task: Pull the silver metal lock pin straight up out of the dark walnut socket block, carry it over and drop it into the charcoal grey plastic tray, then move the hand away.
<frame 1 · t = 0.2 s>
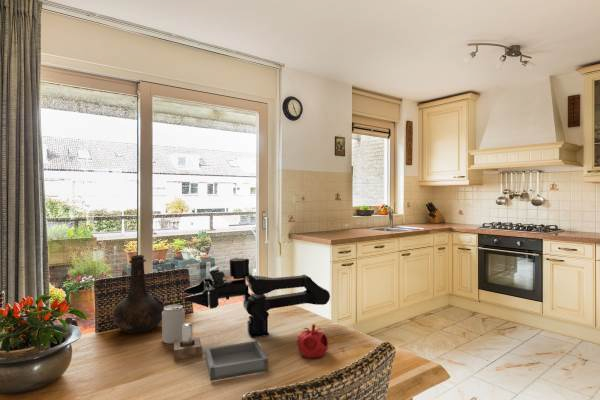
hand: (184, 294, 125), 17 cm above the table, tool horizontal, fingers open, 9 cm apart
brown vase: (139, 329, 140), on the table
lock pin: (187, 352, 117), resting on socket block
can: (173, 341, 128), on the table
pomegranate: (312, 354, 116), on the table
tray: (235, 365, 109), on the table
socket block: (187, 354, 117), on the table
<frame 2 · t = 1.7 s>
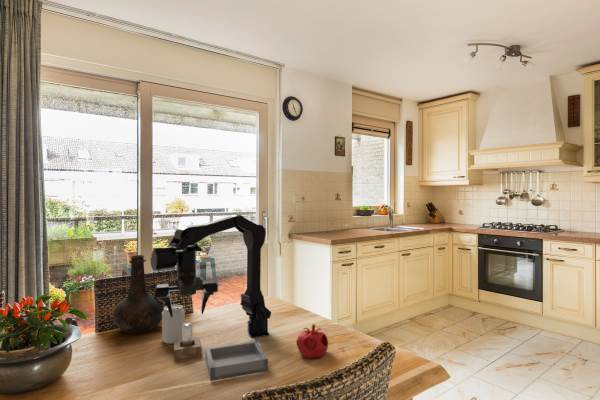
hand: (187, 315, 117), 12 cm above the table, tool pointing down, fingers open, 9 cm apart
nothing on the table moved.
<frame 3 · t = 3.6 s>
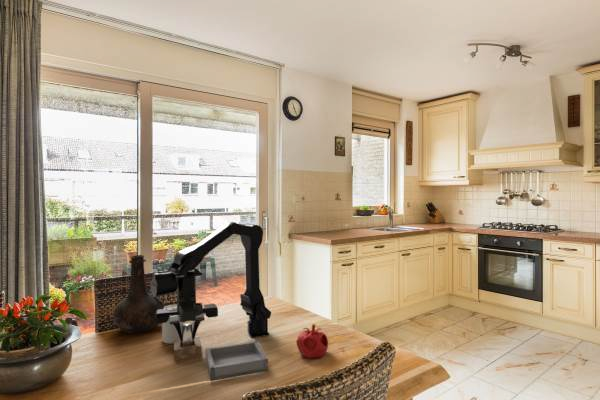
hand: (187, 340, 117), 5 cm above the table, tool pointing down, fingers closed on lock pin, 3 cm apart
lock pin: (187, 352, 117), resting on socket block, touching gripper
everything else where it was.
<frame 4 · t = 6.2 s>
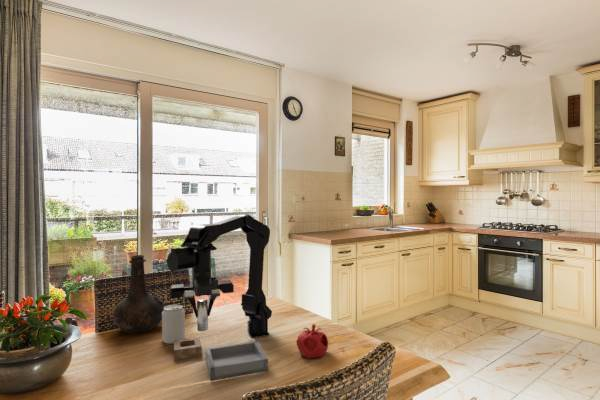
hand: (202, 316, 114), 13 cm above the table, tool pointing down, fingers closed on lock pin, 3 cm apart
lock pin: (202, 329, 114), point 9 cm above the table, touching gripper
everything else where it was.
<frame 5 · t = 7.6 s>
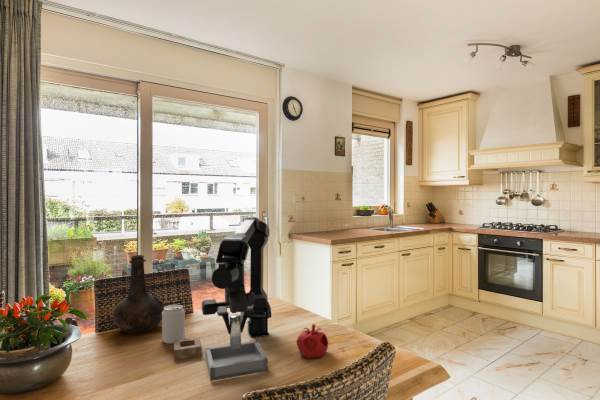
hand: (235, 333, 109), 9 cm above the table, tool pointing down, fingers closed on lock pin, 3 cm apart
lock pin: (235, 346, 109), point 5 cm above the table, touching gripper
everything else where it was.
when the fingers open (6 cm above the table, at t = 8.8 s): lock pin drops 1 cm, resting on tray.
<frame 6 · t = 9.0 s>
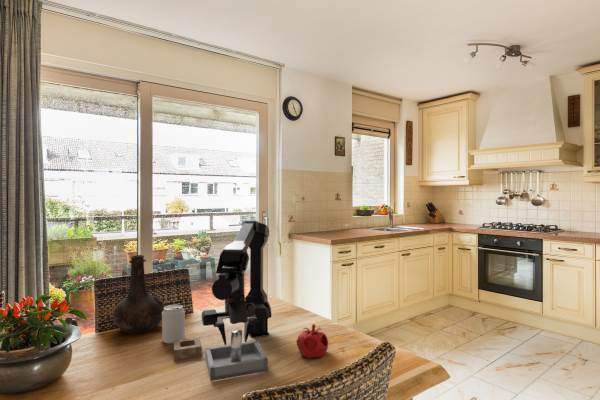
hand: (235, 343, 109), 6 cm above the table, tool pointing down, fingers open, 6 cm apart
lock pin: (235, 361, 109), point 1 cm above the table, touching tray
everything else where it was.
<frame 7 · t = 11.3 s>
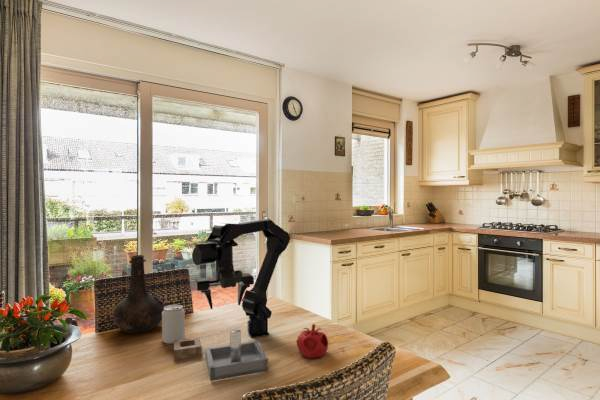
hand: (225, 307, 123), 13 cm above the table, tool pointing down, fingers open, 9 cm apart
nothing on the table moved.
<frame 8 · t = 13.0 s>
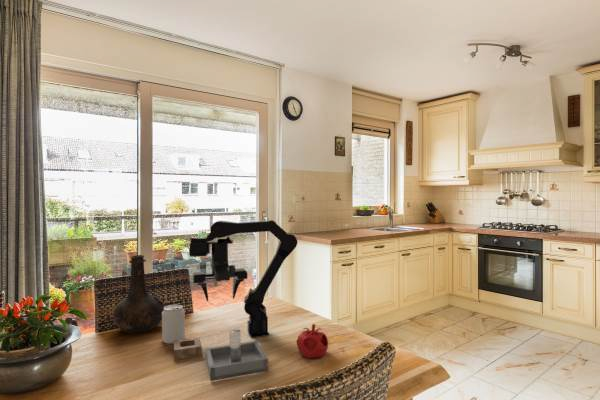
hand: (220, 299, 132), 13 cm above the table, tool pointing down, fingers open, 9 cm apart
nothing on the table moved.
at the end: lock pin inside the target area on the tray (0.0 cm from its centre), point 1.0 cm above the tray's base; lock pin moved 18.4 cm from its start; the gripper is holding nothing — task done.
